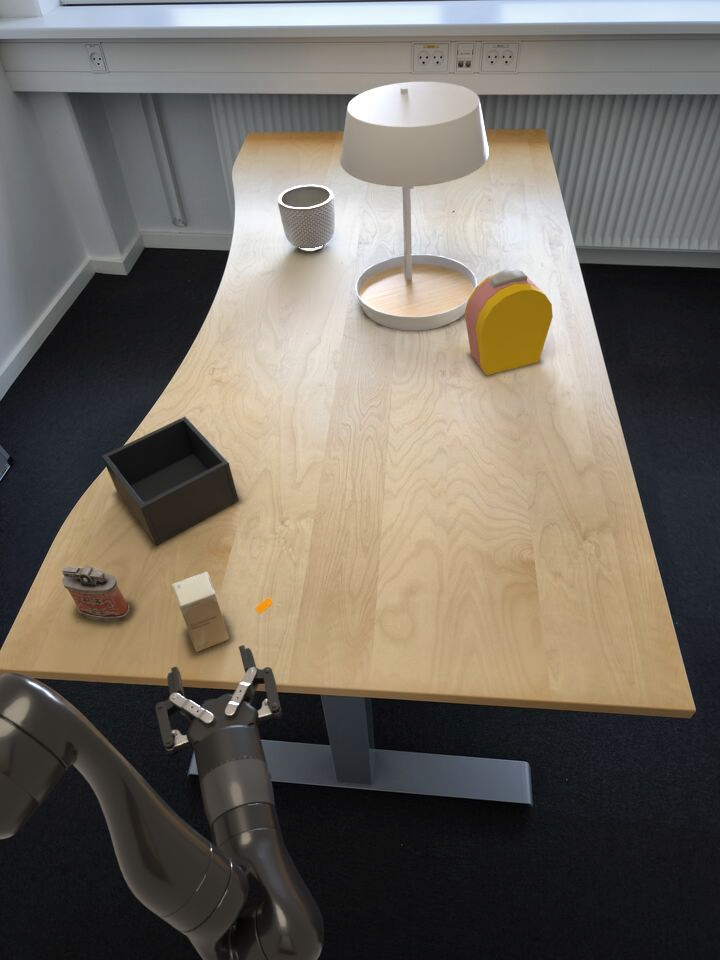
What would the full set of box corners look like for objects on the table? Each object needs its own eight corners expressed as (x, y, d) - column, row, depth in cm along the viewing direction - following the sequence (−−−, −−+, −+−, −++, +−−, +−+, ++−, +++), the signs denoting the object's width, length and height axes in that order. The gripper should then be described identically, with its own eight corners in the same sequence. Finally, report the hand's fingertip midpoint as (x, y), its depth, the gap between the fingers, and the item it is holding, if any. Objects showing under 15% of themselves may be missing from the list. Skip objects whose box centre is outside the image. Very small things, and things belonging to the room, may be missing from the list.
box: (196, 653, 104) (177, 607, 96) (188, 630, 107) (169, 583, 99) (231, 638, 105) (215, 592, 97) (223, 616, 108) (206, 569, 100)
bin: (156, 546, 119) (140, 508, 112) (117, 493, 128) (101, 455, 122) (238, 500, 125) (228, 462, 118) (196, 453, 134) (185, 416, 128)
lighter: (134, 604, 111) (114, 562, 104) (125, 623, 108) (104, 581, 101) (85, 598, 112) (62, 557, 105) (75, 617, 110) (51, 576, 103)
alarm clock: (527, 338, 153) (536, 257, 140) (546, 360, 147) (557, 277, 134) (461, 355, 150) (464, 274, 137) (478, 377, 144) (483, 295, 132)
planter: (273, 249, 188) (265, 200, 179) (310, 228, 195) (304, 180, 186) (312, 264, 181) (306, 214, 172) (349, 241, 188) (345, 192, 179)
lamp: (369, 347, 154) (355, 136, 124) (340, 280, 175) (321, 85, 145) (500, 321, 158) (516, 110, 128) (456, 259, 178) (461, 64, 148)
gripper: (292, 742, 79) (259, 624, 90) (161, 788, 77) (144, 661, 88) (301, 772, 85) (268, 657, 96) (179, 816, 82) (160, 692, 93)
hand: (209, 659), depth 92 cm, fingers open, 8 cm apart
